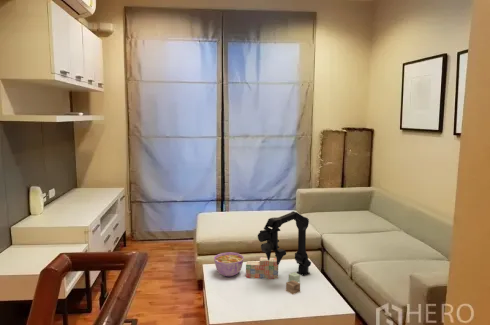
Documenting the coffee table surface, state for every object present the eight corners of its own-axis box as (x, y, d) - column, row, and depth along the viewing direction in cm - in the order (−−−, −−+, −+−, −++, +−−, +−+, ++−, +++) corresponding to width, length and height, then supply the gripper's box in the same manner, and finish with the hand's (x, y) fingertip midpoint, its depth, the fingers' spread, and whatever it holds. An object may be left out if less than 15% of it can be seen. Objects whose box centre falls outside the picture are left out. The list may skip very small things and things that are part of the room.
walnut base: (293, 287, 235) (293, 280, 234) (300, 291, 230) (300, 283, 229) (286, 290, 231) (286, 282, 231) (292, 294, 227) (292, 286, 226)
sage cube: (294, 279, 248) (294, 272, 247) (299, 282, 244) (299, 274, 243) (288, 281, 245) (288, 274, 245) (293, 284, 241) (293, 276, 240)
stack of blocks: (245, 278, 250) (245, 260, 249) (246, 274, 257) (246, 256, 255) (278, 279, 248) (278, 261, 247) (278, 275, 254) (278, 257, 253)
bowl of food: (246, 279, 248) (246, 262, 247) (215, 281, 245) (215, 264, 243) (241, 267, 268) (241, 251, 266) (212, 269, 264) (212, 253, 263)
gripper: (254, 237, 241) (254, 260, 243) (272, 245, 226) (272, 270, 228) (267, 233, 247) (267, 256, 249) (286, 241, 232) (286, 266, 234)
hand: (273, 262), depth 240 cm, fingers open, 9 cm apart
